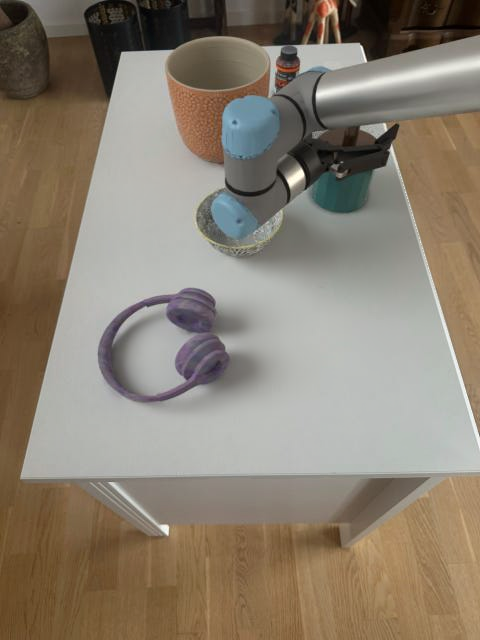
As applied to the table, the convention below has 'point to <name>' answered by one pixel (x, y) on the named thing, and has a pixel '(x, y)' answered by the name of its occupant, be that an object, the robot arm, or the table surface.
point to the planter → (213, 87)
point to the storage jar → (341, 191)
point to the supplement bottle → (286, 67)
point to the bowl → (226, 243)
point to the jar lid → (347, 137)
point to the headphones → (194, 356)
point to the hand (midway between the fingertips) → (364, 116)
